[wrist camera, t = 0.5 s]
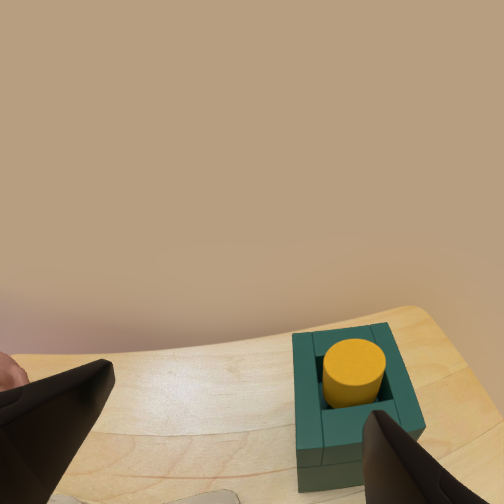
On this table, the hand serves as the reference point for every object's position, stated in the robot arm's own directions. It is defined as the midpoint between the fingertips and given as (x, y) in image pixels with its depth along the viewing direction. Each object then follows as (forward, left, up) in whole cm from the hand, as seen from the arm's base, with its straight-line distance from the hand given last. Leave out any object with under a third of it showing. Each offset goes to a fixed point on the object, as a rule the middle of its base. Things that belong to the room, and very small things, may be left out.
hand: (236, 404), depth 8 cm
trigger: (+5, -5, -8) cm, 11 cm away
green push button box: (+5, -5, -16) cm, 17 cm away
